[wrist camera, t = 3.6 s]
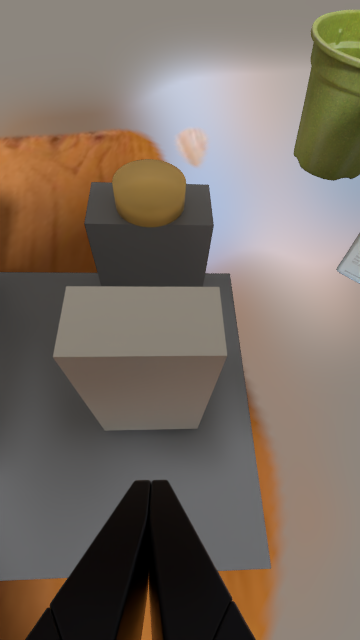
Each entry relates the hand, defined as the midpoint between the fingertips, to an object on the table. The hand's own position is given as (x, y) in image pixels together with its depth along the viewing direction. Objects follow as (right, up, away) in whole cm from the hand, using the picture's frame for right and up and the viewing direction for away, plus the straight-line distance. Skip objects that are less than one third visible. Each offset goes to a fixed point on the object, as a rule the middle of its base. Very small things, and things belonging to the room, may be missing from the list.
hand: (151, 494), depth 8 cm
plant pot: (+14, +18, +20) cm, 31 cm away
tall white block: (-1, +1, +6) cm, 6 cm away
